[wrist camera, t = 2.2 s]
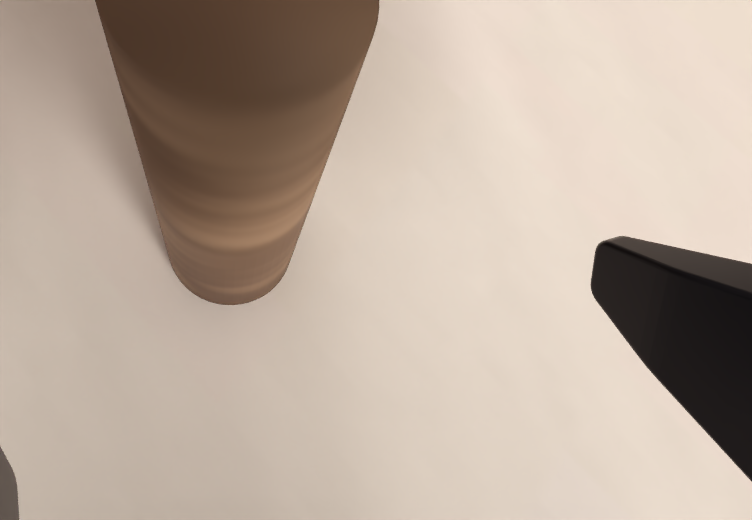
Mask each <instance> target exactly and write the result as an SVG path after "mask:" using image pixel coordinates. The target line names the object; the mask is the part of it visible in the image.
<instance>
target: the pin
mask: <svg viewBox="0 0 752 520" xmlns="http://www.w3.org/2000/svg"><path fill="white" fill-rule="evenodd" d="M95 2H96V5H97V8H98V12H99V15H100V19H101V22H102V26H103V29H104V33H105V36H106V40H107V43H108V47H109V50H110V54H111V57H112V60H113V64H114V67H115V71H116V74H117V78H118V81H119V85H120V88H121V92H122V95H123V99H124V102H125V105H126V109H127V112H128V116H129V119H130V123H131V126H132V130H133V133H134V137H135V140H136V144H137V147H138V151H139V154H140V157H141V161H142V164H143V168H144V171H145V175H146V178H147V182H148V185H149V189H150V192H151V196H152V199H153V203H154V206H155V209H156V213H157V216H158V220H159V223H160V227H161V230H162V234H163V237H164V241H165V244H166V248H167V251H168V254H169V258H170V261H171V264H172V267H173V270H174V272H175V273H176V275H177V277H178V278H179V280H180V281H181V282H182V284H183V285H184V286H185V287H186V288H187V289H188V290H190V291H191V292H192V293H194V294H195V295H197V296H199V297H200V298H202V299H205V300H207V301H210V302H213V303H217V304H223V305H236V304H243V303H248V302H251V301H254V300H256V299H258V298H260V297H262V296H264V295H265V294H267V293H268V292H270V291H271V290H272V289H273V288H274V287H275V286H276V285H277V284H278V283H279V281H280V280H281V279H282V277H283V276H284V274H285V272H286V270H287V267H288V265H289V262H290V259H291V257H292V254H293V251H294V248H295V246H296V243H297V240H298V238H299V235H300V232H301V230H302V227H303V224H304V222H305V219H306V216H307V213H308V211H309V208H310V205H311V203H312V200H313V197H314V195H315V192H316V189H317V186H318V184H319V181H320V178H321V176H322V173H323V170H324V168H325V165H326V162H327V159H328V157H329V154H330V151H331V149H332V146H333V143H334V141H335V138H336V135H337V132H338V130H339V127H340V124H341V122H342V119H343V116H344V114H345V111H346V108H347V105H348V103H349V100H350V97H351V95H352V92H353V89H354V87H355V84H356V81H357V78H358V76H359V73H360V70H361V68H362V65H363V62H364V60H365V57H366V54H367V51H368V49H369V46H370V43H371V41H372V38H373V35H374V32H375V28H376V25H377V20H378V13H379V0H95Z"/></svg>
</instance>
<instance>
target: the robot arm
mask: <svg viewBox="0 0 752 520" xmlns="http://www.w3.org/2000/svg"><path fill="white" fill-rule="evenodd" d="M591 290H592V294H593V296H594V298H595V299H596V301H597V302H598V303H599V305H600V306H601V307H602V309H603V310H604V311H605V313H606V314H607V315H608V317H609V318H610V319H611V321H612V322H613V323H614V325H615V326H616V327H617V329H618V330H619V331H620V333H621V334H622V335H623V337H624V338H625V339H626V341H627V342H628V343H629V345H630V346H631V347H632V349H633V350H634V351H635V352H636V354H637V355H638V356H639V358H640V359H641V360H642V361H643V363H644V364H645V365H646V367H647V368H648V369H649V370H650V371H651V372H652V373H653V375H654V376H655V377H656V378H657V379H658V380H659V381H660V382H661V384H662V385H663V386H664V387H665V388H666V389H667V390H668V391H669V392H670V393H671V394H672V395H673V397H674V398H675V399H676V400H677V401H678V402H679V403H680V404H681V405H682V406H683V407H684V408H685V410H686V411H687V412H688V413H689V414H690V415H691V416H692V417H693V418H694V419H695V420H696V422H697V423H698V424H699V425H700V426H701V427H702V428H703V429H704V430H705V431H706V432H707V433H708V435H709V436H710V437H711V438H712V439H713V440H714V441H715V442H716V443H717V444H718V445H719V447H720V448H721V449H722V450H723V451H724V452H725V453H726V454H727V455H728V456H729V457H730V458H731V460H732V461H733V462H734V463H735V464H736V465H737V466H738V467H739V468H740V469H741V470H742V472H743V473H744V474H745V475H746V476H747V477H748V478H749V479H750V480H751V481H752V264H750V263H745V262H741V261H736V260H732V259H727V258H723V257H718V256H713V255H709V254H704V253H700V252H695V251H690V250H686V249H681V248H677V247H672V246H667V245H663V244H658V243H654V242H649V241H644V240H640V239H635V238H631V237H626V236H619V237H615V238H612V239H608V240H605V241H602V242H601V243H599V244H598V246H597V248H596V251H595V257H594V264H593V271H592V278H591ZM0 520H19V508H18V491H17V483H16V478H15V474H14V472H13V469H12V467H11V465H10V463H9V462H8V460H7V458H6V456H5V454H4V452H3V451H2V449H1V447H0Z"/></svg>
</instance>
